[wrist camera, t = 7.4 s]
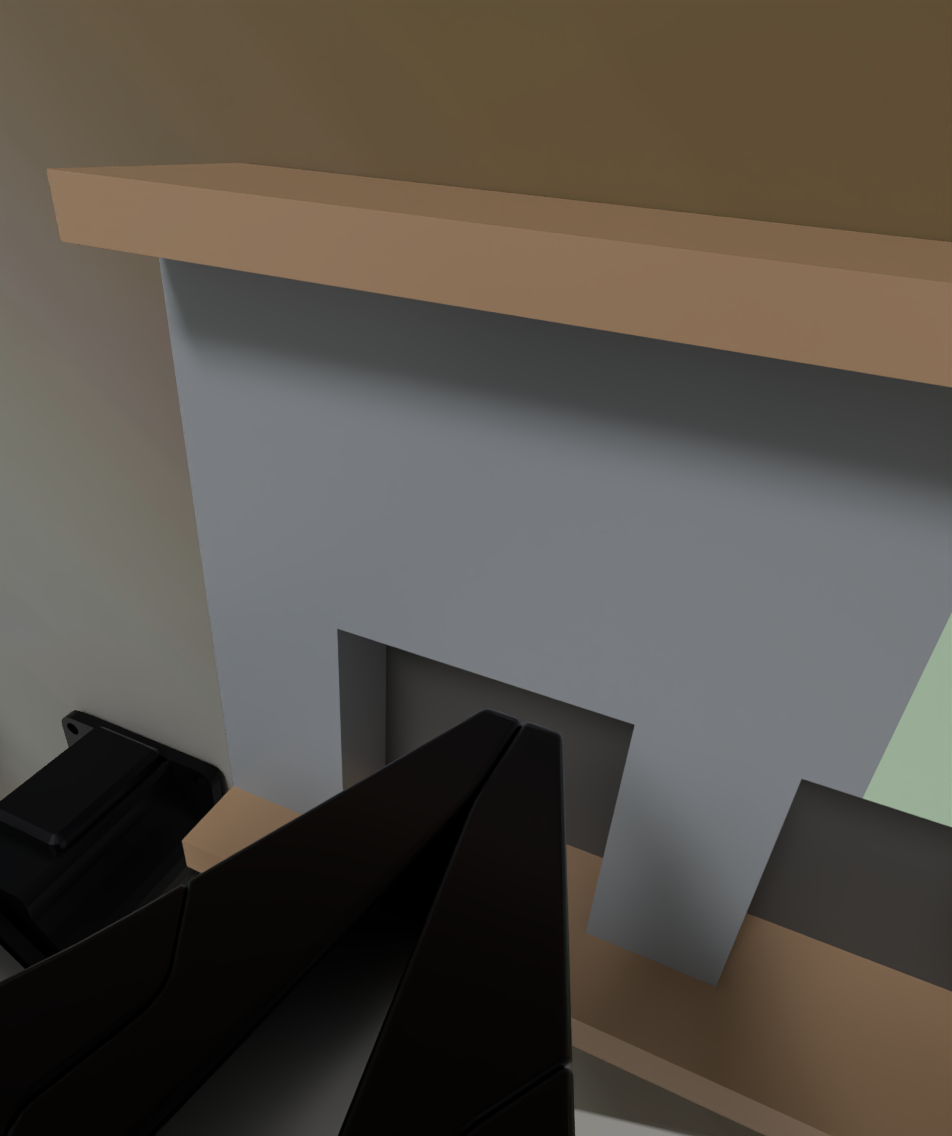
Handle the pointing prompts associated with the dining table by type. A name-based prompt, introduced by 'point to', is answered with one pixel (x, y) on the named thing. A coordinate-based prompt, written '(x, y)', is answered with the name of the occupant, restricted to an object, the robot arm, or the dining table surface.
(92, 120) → the dining table surface
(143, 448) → the dining table surface
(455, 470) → the box
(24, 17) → the dining table surface
